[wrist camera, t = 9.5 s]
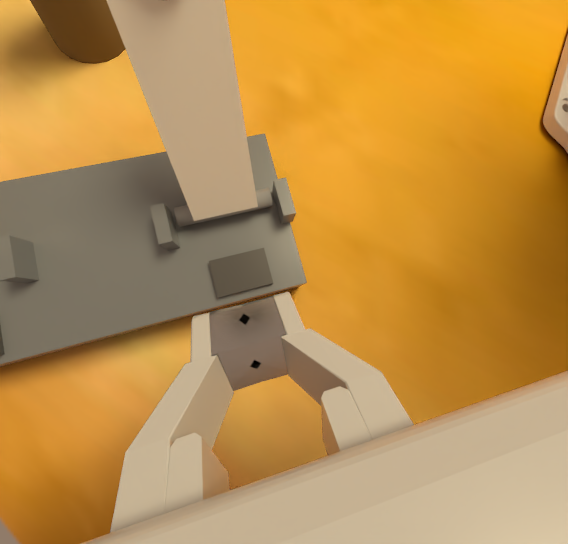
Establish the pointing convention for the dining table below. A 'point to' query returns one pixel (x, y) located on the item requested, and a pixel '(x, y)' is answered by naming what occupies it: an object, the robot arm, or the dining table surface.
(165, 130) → the lever
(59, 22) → the brown pawn
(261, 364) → the robot arm
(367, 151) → the dining table surface
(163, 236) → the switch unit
